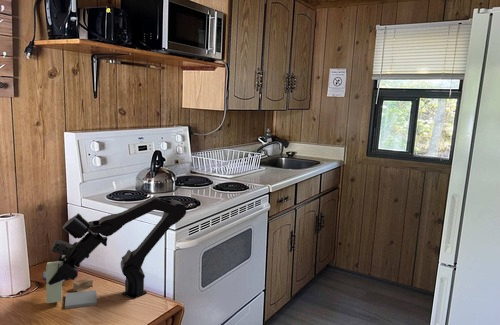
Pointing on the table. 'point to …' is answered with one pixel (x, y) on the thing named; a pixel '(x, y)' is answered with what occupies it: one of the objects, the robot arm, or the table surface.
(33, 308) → the table surface
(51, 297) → the sage green pillar
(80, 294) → the slate tile
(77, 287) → the brown block
